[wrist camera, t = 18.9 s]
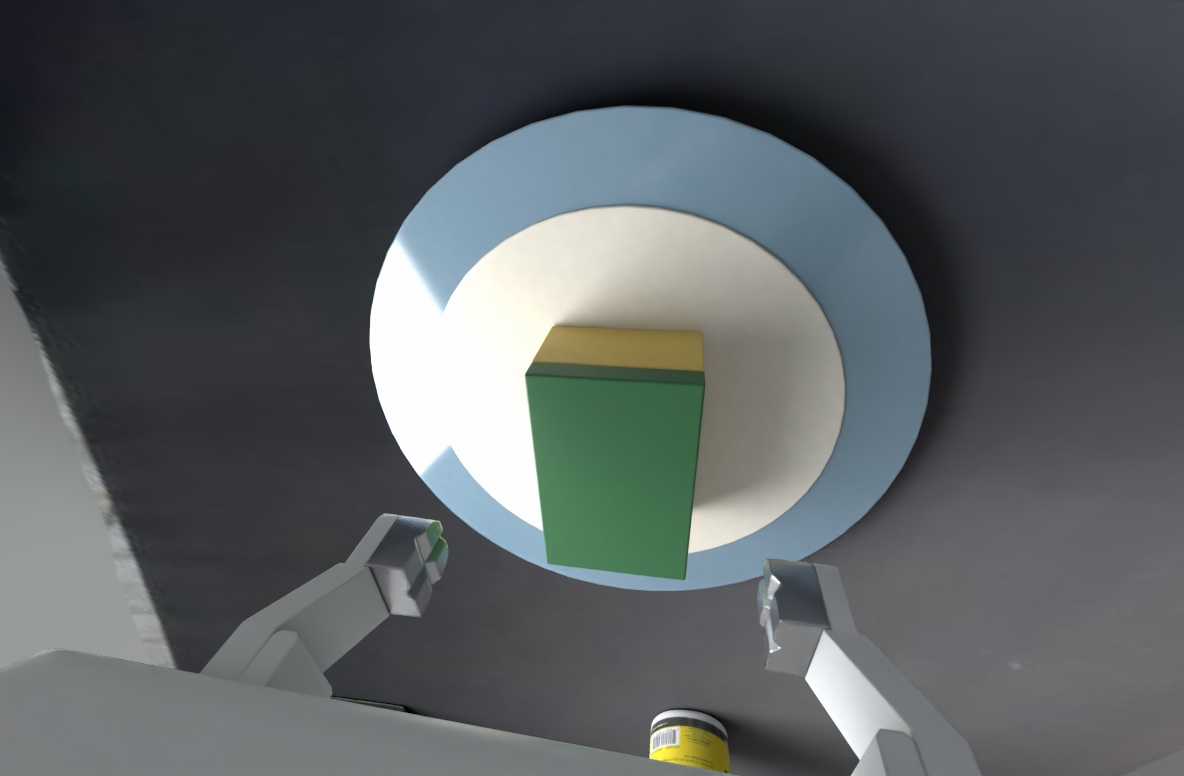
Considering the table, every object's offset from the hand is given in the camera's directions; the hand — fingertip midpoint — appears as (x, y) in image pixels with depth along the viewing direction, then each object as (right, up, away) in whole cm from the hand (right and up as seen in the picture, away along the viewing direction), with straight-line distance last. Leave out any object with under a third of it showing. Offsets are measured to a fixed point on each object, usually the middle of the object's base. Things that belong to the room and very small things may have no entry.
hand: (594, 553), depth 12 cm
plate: (+1, +4, +7) cm, 8 cm away
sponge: (+1, +3, +6) cm, 7 cm away
